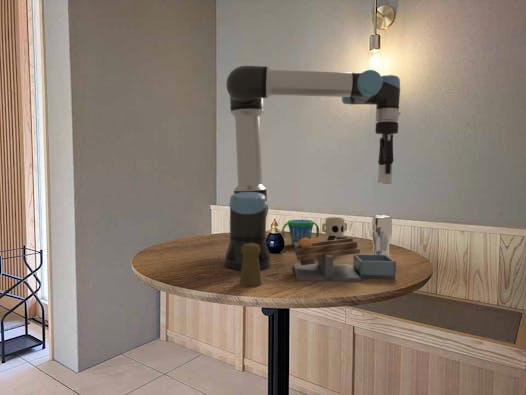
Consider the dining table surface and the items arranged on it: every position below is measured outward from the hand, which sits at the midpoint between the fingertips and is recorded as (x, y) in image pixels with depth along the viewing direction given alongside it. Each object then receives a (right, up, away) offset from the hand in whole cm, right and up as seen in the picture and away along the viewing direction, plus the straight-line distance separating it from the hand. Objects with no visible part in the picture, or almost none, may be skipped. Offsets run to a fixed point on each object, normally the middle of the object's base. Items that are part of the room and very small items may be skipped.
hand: (384, 183), depth 138 cm
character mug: (-15, -26, +13) cm, 33 cm away
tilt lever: (-23, -23, -15) cm, 36 cm away
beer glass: (0, -27, +3) cm, 27 cm away
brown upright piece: (-46, -29, -31) cm, 62 cm away
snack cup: (-27, -25, +25) cm, 45 cm away
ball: (-30, -19, -19) cm, 40 cm away
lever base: (-24, -28, -19) cm, 41 cm away
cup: (-9, -28, -19) cm, 35 cm away
